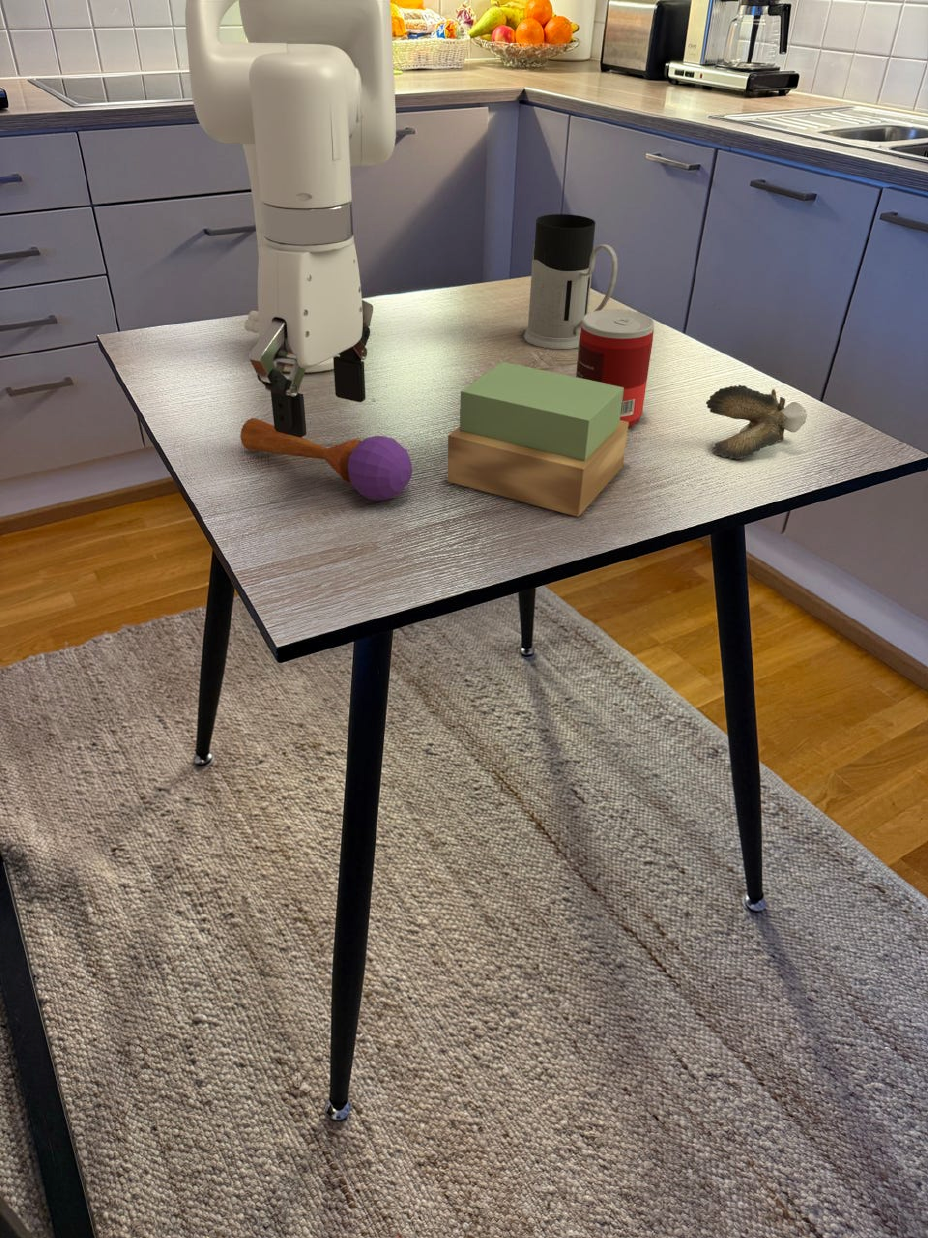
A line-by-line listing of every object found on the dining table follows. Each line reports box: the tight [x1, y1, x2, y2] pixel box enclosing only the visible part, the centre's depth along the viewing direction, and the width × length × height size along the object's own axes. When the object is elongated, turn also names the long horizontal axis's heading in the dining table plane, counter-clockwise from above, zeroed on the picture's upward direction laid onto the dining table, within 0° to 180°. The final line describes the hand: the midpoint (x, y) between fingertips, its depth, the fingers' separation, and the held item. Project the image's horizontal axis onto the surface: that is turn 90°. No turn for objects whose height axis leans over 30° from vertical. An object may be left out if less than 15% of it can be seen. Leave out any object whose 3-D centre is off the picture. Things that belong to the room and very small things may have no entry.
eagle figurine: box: [705, 384, 808, 460], centre depth 99 cm, size 8×7×9 cm
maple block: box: [446, 420, 629, 518], centre depth 93 cm, size 14×12×5 cm
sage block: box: [459, 361, 624, 461], centre depth 90 cm, size 13×9×4 cm
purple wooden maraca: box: [239, 417, 413, 501], centre depth 92 cm, size 6×6×20 cm
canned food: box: [575, 308, 655, 428], centre depth 103 cm, size 8×8×11 cm
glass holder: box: [523, 213, 619, 350], centre depth 121 cm, size 9×14×15 cm, turn 36°
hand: (321, 415), depth 89 cm, fingers open, 9 cm apart
